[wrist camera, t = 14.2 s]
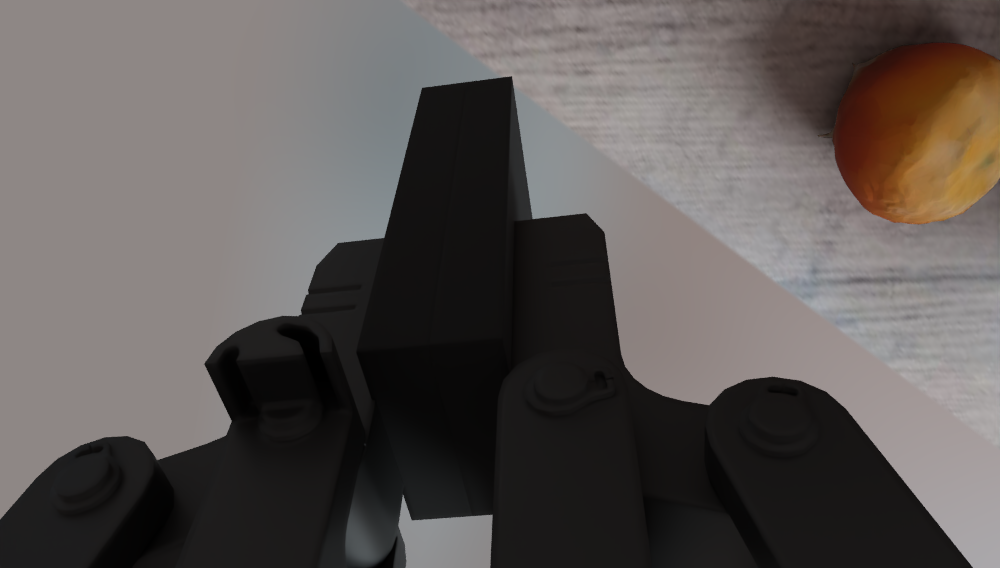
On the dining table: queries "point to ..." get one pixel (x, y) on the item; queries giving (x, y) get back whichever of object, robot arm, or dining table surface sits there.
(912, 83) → the fruit
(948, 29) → the dining table surface
